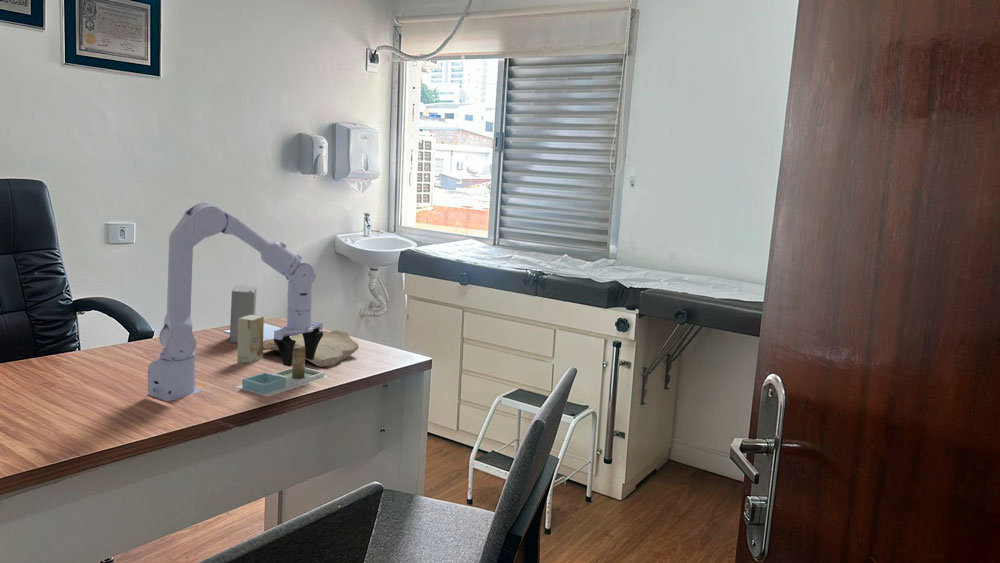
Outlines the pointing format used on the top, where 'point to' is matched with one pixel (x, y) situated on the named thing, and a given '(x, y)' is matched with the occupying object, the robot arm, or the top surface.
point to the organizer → (293, 380)
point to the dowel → (298, 362)
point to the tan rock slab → (324, 347)
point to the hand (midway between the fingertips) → (298, 362)
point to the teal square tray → (271, 385)
